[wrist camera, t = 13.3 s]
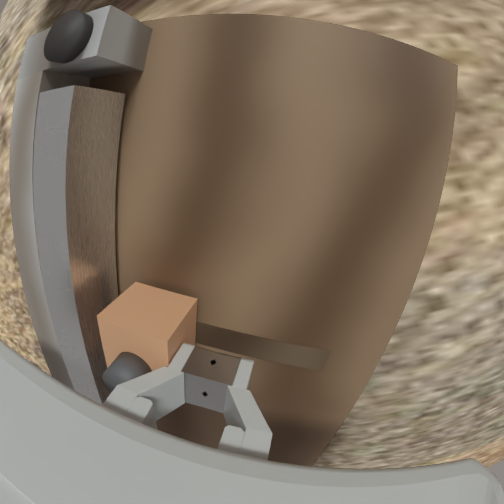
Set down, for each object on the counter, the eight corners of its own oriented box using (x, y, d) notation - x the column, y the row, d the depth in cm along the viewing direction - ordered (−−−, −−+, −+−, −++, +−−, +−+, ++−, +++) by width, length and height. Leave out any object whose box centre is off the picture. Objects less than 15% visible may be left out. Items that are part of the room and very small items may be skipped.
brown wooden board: (447, 70, 8) (508, 42, 3) (308, 459, 17) (303, 510, 13) (61, 50, 10) (0, 39, 6) (85, 389, 19) (57, 424, 15)
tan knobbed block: (197, 298, 12) (151, 363, 8) (194, 366, 13) (161, 430, 9) (135, 281, 12) (78, 332, 8) (141, 348, 13) (99, 402, 10)
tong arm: (128, 94, 9) (74, 84, 6) (140, 420, 17) (121, 452, 14) (90, 97, 9) (36, 92, 7) (115, 409, 17) (95, 438, 14)
